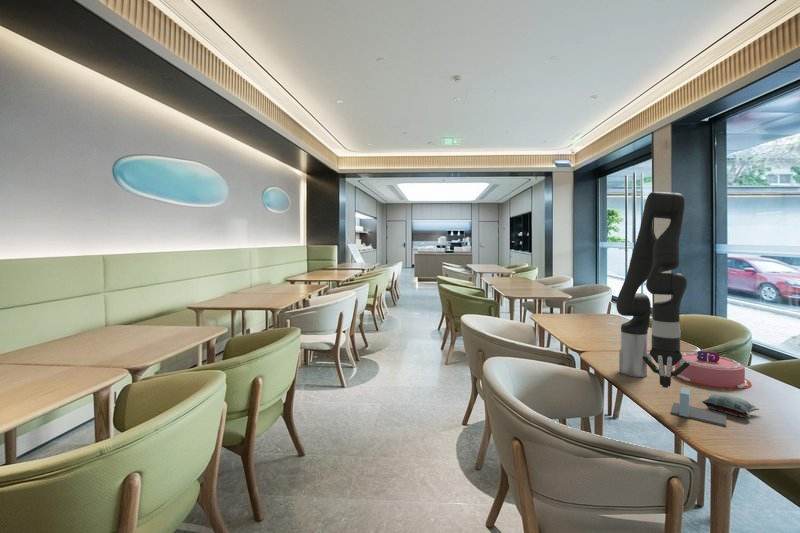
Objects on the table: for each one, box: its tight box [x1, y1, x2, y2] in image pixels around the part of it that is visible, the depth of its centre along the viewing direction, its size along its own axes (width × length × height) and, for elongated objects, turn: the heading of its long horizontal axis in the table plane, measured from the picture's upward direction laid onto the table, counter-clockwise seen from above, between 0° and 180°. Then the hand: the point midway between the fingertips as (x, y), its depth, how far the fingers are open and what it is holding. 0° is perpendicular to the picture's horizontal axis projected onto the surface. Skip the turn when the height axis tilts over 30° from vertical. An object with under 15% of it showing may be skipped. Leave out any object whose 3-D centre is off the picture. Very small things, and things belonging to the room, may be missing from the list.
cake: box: [672, 350, 753, 391], centre depth 144 cm, size 25×25×11 cm
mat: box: [670, 402, 727, 427], centre depth 113 cm, size 13×9×1 cm
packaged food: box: [701, 392, 760, 418], centre depth 115 cm, size 9×12×5 cm
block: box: [679, 386, 691, 418], centre depth 113 cm, size 2×7×6 cm
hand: (665, 386), depth 118 cm, fingers closed
